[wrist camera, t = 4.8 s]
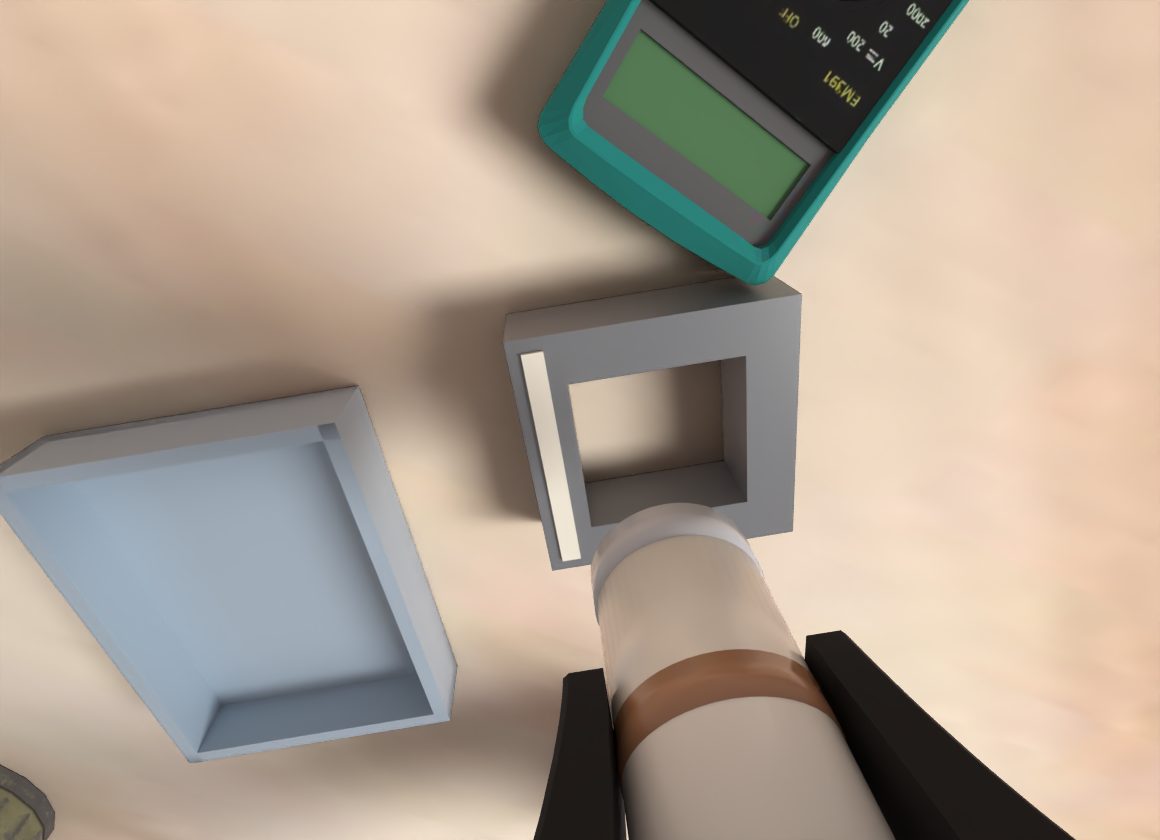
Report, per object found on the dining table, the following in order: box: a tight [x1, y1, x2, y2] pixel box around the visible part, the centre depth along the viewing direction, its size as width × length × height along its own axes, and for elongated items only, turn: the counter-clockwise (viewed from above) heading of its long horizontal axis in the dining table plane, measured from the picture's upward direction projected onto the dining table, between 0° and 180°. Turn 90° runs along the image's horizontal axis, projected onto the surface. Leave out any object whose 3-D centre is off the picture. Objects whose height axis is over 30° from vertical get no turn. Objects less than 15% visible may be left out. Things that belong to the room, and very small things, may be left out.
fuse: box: [591, 503, 896, 840], centre depth 10 cm, size 4×4×8 cm
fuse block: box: [503, 276, 802, 571], centre depth 18 cm, size 8×8×3 cm
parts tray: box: [0, 386, 457, 763], centre depth 20 cm, size 13×10×2 cm
